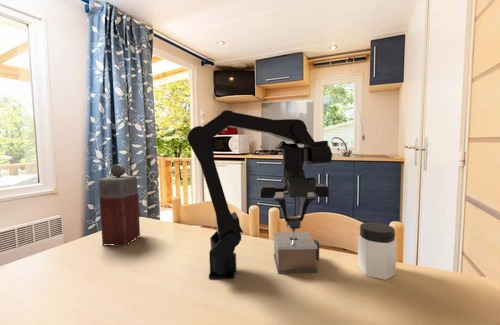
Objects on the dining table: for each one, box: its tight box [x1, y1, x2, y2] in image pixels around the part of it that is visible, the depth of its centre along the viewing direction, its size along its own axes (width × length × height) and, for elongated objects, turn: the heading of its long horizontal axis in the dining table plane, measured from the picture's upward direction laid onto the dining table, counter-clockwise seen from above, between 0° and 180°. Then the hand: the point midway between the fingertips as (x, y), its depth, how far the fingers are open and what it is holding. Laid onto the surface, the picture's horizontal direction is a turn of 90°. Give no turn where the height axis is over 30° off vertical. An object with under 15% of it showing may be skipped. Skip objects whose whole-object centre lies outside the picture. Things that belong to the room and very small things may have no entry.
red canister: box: [98, 163, 141, 246], centre depth 89 cm, size 9×11×28 cm
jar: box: [357, 221, 397, 281], centre depth 64 cm, size 9×8×12 cm
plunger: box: [285, 215, 302, 240], centre depth 69 cm, size 8×8×11 cm
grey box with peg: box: [273, 231, 320, 274], centre depth 70 cm, size 12×10×7 cm
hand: (293, 220), depth 69 cm, fingers closed on plunger, 4 cm apart
